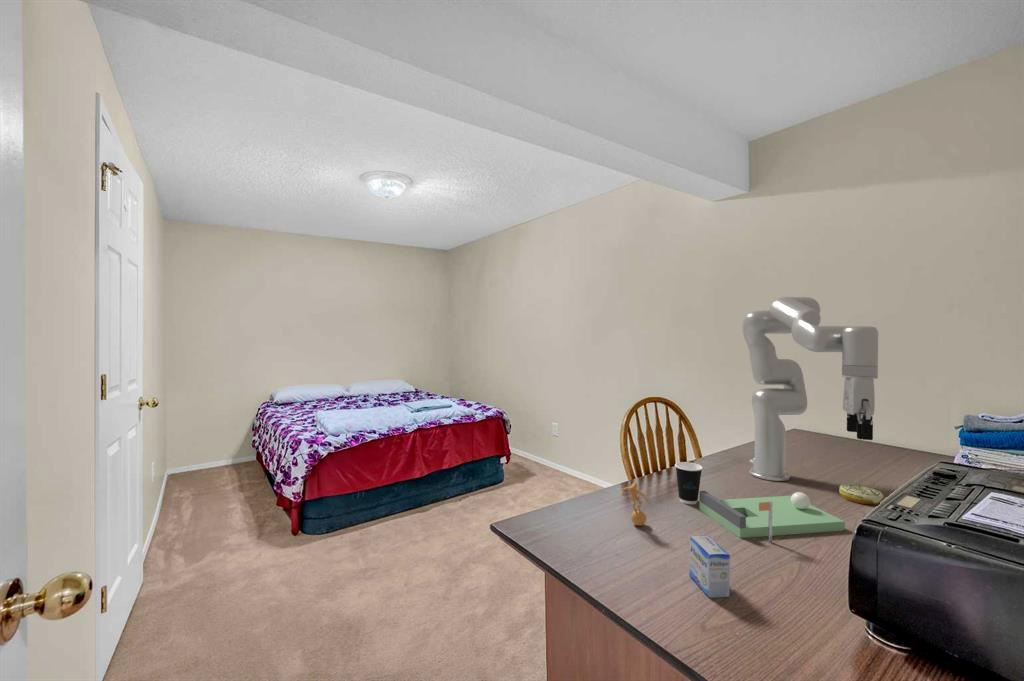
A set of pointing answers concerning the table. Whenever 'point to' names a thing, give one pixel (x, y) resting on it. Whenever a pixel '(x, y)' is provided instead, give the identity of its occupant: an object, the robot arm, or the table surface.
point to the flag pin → (765, 507)
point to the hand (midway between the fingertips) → (859, 435)
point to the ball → (800, 500)
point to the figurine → (638, 515)
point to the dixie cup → (688, 481)
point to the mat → (767, 516)
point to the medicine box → (709, 566)
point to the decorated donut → (861, 494)
